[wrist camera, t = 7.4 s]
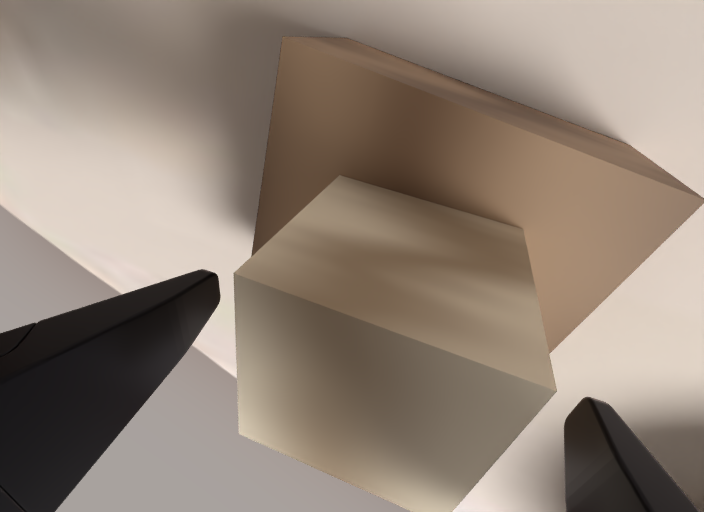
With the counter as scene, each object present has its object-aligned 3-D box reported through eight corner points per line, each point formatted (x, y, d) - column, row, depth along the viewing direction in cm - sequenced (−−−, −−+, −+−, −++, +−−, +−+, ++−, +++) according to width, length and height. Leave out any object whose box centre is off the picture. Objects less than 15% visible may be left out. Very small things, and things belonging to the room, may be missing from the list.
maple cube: (523, 229, 9) (556, 390, 5) (456, 355, 12) (440, 524, 8) (339, 175, 10) (233, 272, 6) (318, 305, 12) (238, 434, 8)
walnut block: (627, 143, 11) (706, 200, 7) (477, 335, 17) (474, 426, 13) (349, 37, 12) (282, 36, 8) (297, 253, 18) (243, 314, 14)
